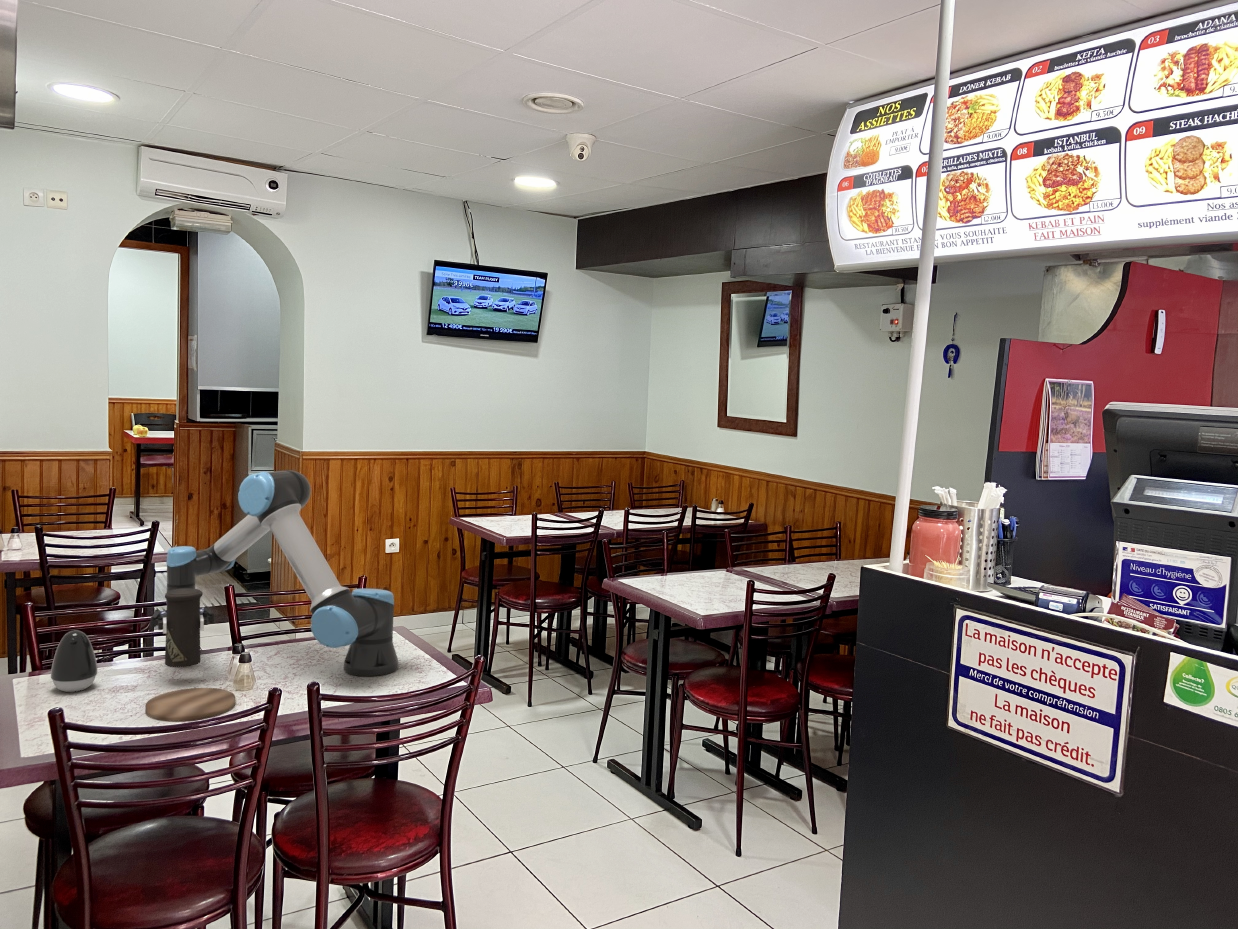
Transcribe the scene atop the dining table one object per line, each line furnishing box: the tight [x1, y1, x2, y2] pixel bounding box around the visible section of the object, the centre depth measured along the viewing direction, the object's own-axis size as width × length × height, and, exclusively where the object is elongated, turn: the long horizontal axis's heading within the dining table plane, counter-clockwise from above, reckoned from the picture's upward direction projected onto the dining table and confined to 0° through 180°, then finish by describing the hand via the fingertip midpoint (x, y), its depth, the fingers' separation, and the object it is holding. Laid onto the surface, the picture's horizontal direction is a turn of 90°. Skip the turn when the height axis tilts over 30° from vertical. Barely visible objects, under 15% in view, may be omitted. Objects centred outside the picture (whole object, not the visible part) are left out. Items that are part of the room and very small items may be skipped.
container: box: [164, 588, 203, 668], centre depth 235 cm, size 9×9×20 cm
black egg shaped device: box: [50, 629, 98, 693], centre depth 226 cm, size 10×10×15 cm
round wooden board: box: [144, 687, 236, 722], centre depth 218 cm, size 20×20×2 cm
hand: (183, 627), depth 231 cm, fingers closed on container, 8 cm apart
